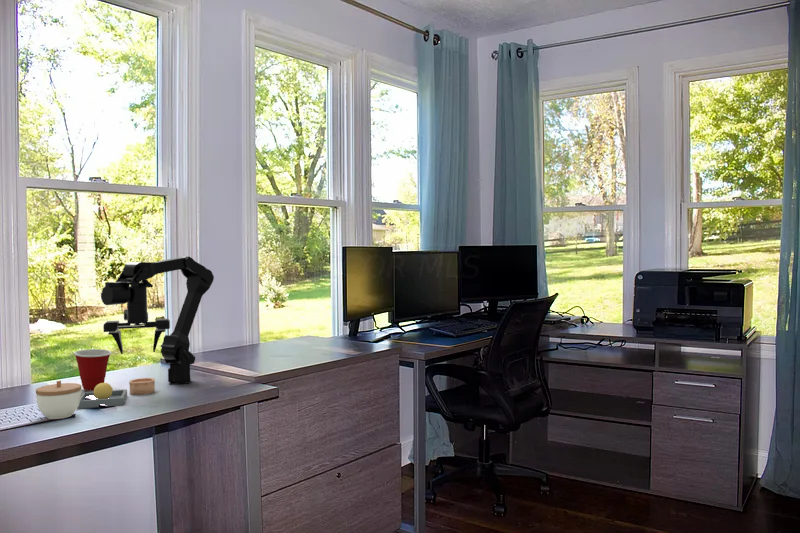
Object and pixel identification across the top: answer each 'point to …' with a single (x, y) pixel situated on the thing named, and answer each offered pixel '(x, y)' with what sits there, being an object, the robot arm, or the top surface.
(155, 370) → the top surface
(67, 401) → the lidded jar
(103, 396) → the ball
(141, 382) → the bowl
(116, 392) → the tray
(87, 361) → the plastic cup
